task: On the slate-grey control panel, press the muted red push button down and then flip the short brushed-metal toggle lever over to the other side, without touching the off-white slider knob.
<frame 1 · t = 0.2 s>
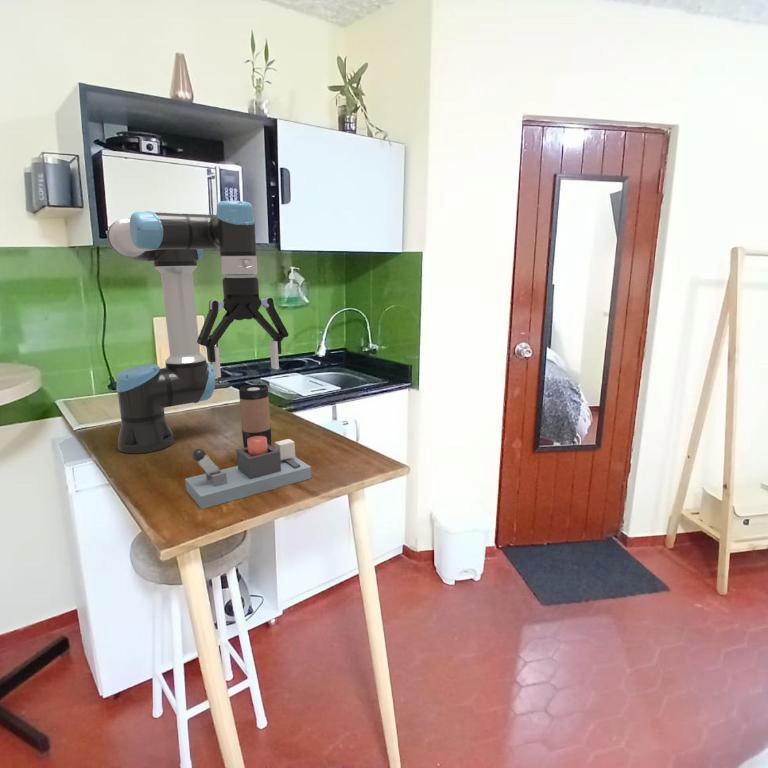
hand: (247, 372, 117), 28 cm above the table, tool pointing down, fingers open, 13 cm apart
panel: (250, 484, 125), on the table
button: (257, 449, 125), point 8 cm above the table, slide at 0.0 cm
travel mug: (258, 458, 142), on the table
slider: (285, 449, 131), point 6 cm above the table, slide at 0.0 cm
lever: (205, 463, 118), point 8 cm above the table, hinge at -30.0°
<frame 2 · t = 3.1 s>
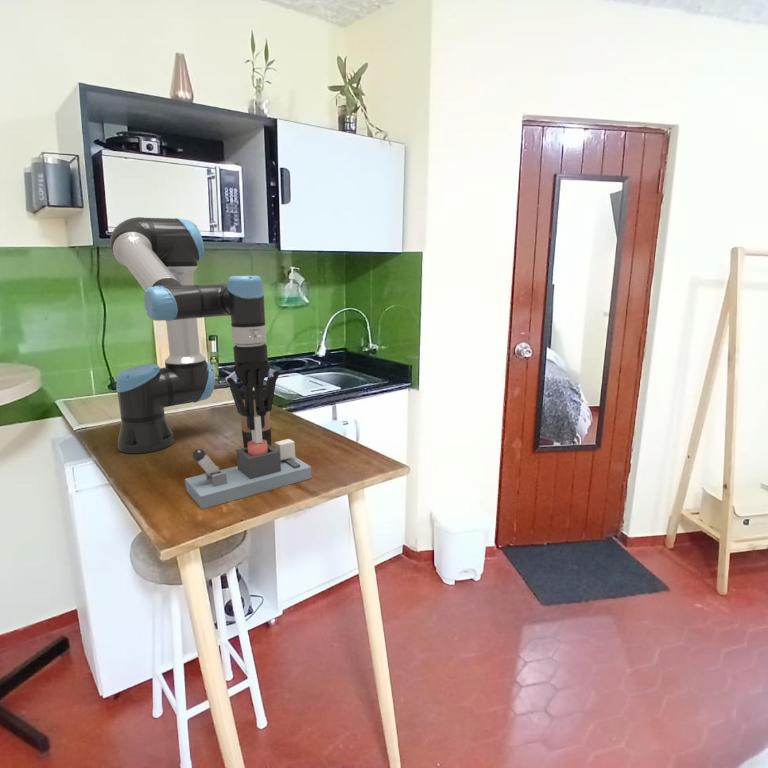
hand: (257, 441, 124), 10 cm above the table, tool pointing down, fingers closed
button: (258, 453, 125), point 7 cm above the table, slide at 0.9 cm, touching gripper
everything else where it was.
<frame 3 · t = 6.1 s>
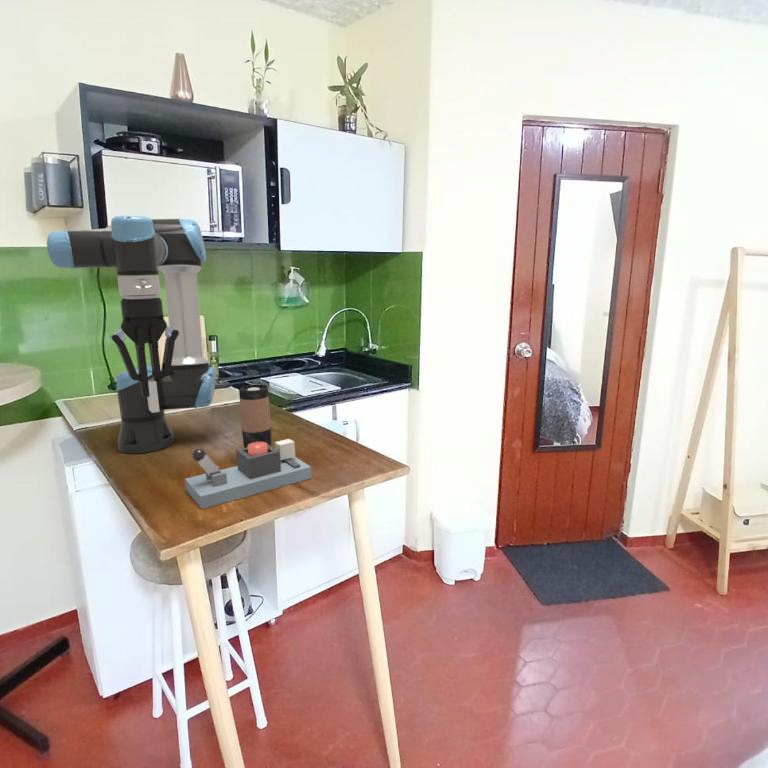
hand: (154, 410, 109), 22 cm above the table, tool pointing down, fingers closed
button: (258, 455, 125), point 7 cm above the table, slide at 1.5 cm
everything else where it was.
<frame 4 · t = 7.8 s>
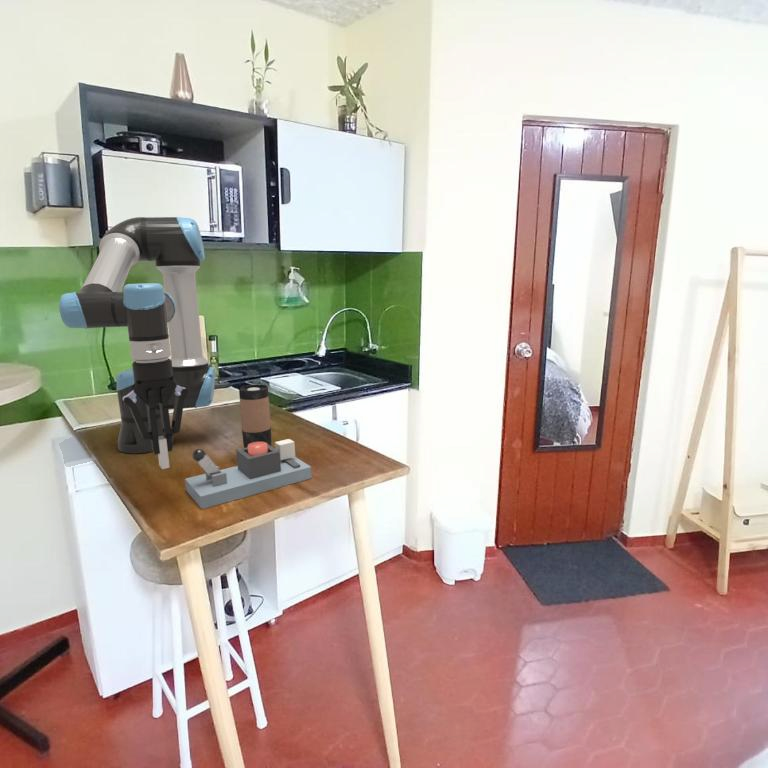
hand: (164, 466, 112), 9 cm above the table, tool pointing down, fingers closed
nothing on the table moved.
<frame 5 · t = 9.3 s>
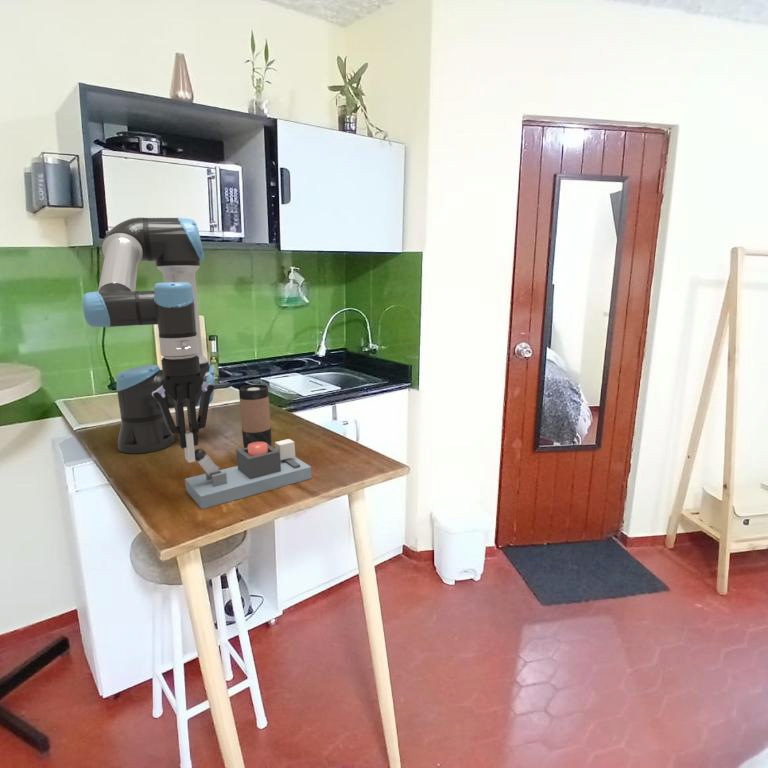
hand: (190, 460, 115), 9 cm above the table, tool pointing down, fingers closed
lever: (206, 462, 118), point 8 cm above the table, hinge at -29.4°, touching gripper
everything else where it was.
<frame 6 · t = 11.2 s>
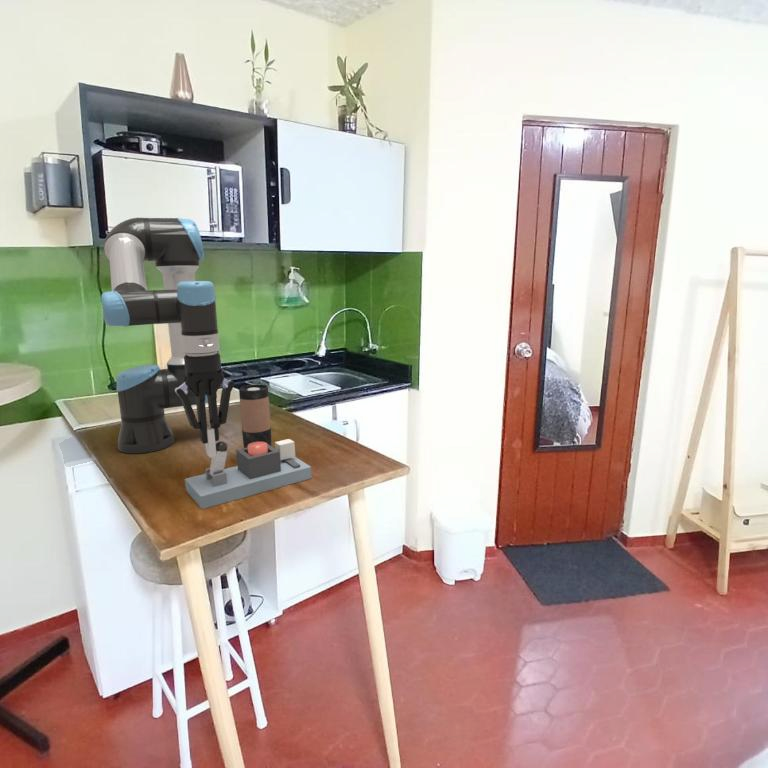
hand: (211, 455, 118), 10 cm above the table, tool pointing down, fingers closed
lever: (218, 458, 119), point 8 cm above the table, hinge at 15.1°, touching gripper
everything else where it was.
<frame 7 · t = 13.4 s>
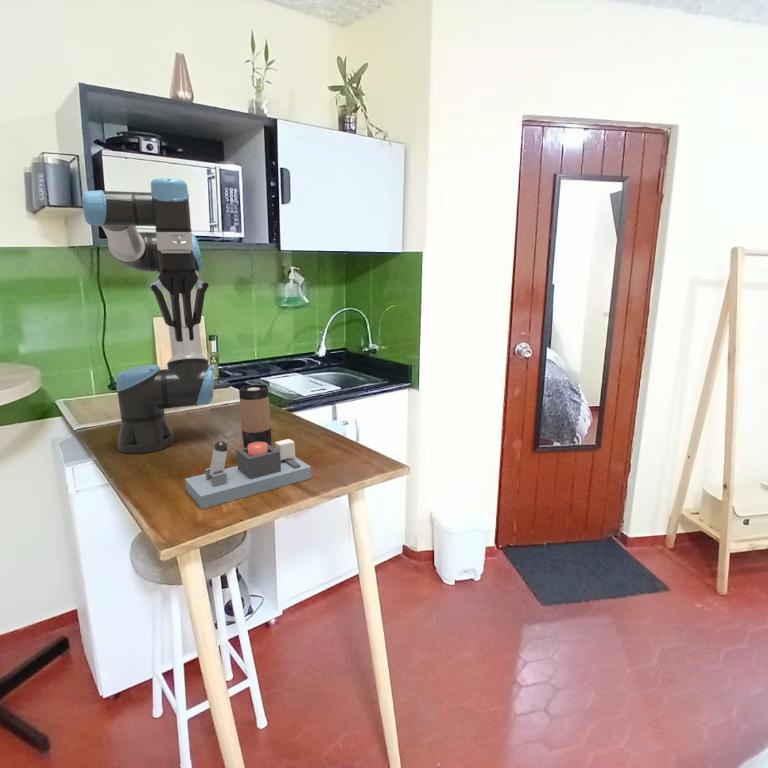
hand: (186, 354, 123), 31 cm above the table, tool pointing down, fingers closed
lever: (218, 458, 119), point 8 cm above the table, hinge at 15.1°
everything else where it was.
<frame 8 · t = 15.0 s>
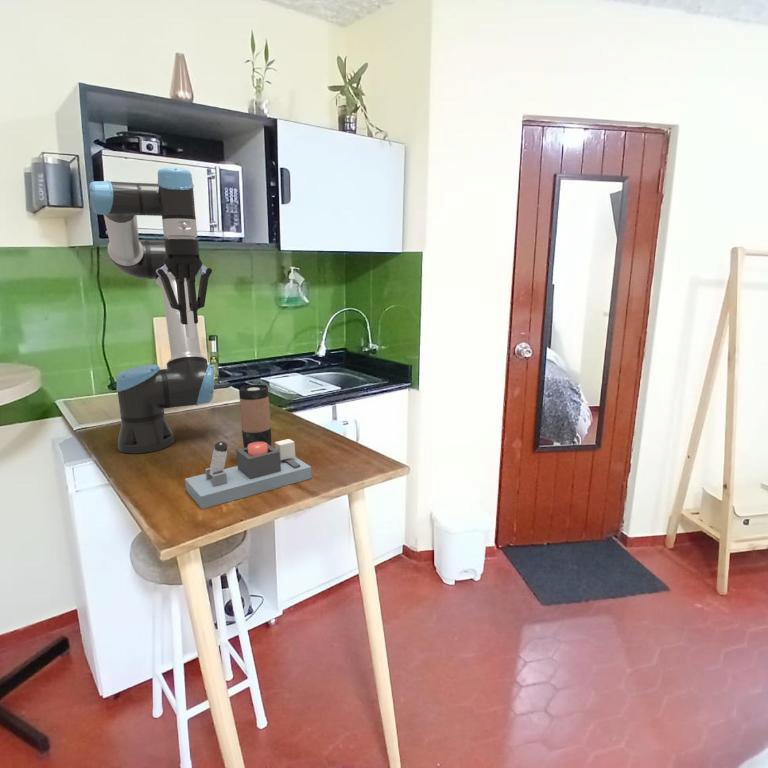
hand: (190, 337, 128), 34 cm above the table, tool pointing down, fingers closed
nothing on the table moved.
at the end: button slide at 1.5 cm; lever at +15° (first picture: -30°); slider slide at 0.0 cm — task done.
